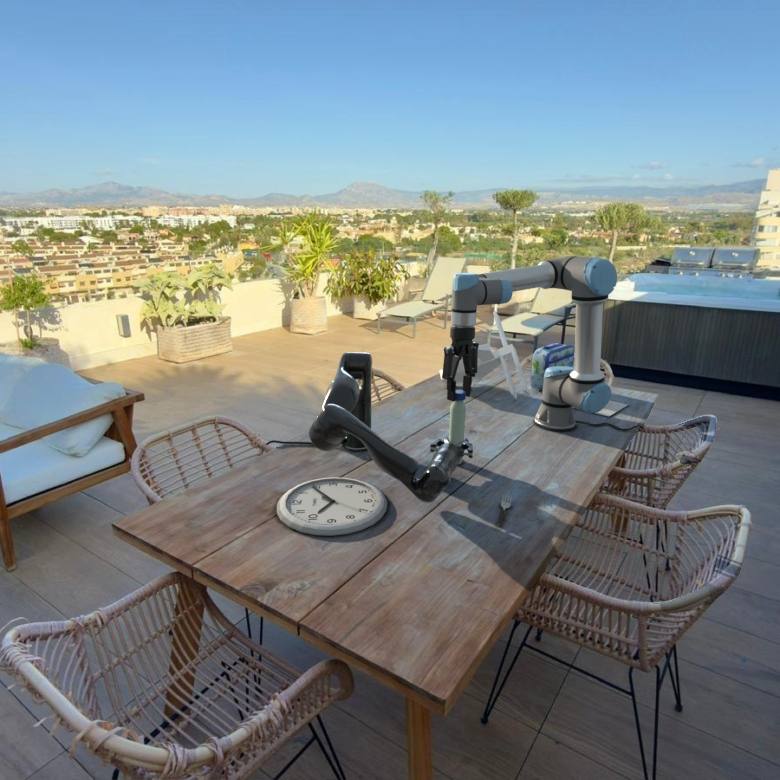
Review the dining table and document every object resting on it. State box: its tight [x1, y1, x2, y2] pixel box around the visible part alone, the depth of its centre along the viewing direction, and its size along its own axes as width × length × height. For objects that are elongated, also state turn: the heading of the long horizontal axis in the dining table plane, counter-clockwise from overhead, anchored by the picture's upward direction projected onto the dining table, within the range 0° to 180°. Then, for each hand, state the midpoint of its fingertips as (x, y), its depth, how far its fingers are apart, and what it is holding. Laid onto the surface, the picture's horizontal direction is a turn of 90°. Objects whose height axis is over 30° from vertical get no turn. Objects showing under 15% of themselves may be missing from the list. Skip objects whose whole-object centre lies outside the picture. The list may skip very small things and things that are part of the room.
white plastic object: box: [438, 310, 531, 400], centre depth 245 cm, size 37×45×31 cm
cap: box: [455, 389, 466, 402], centre depth 164 cm, size 4×4×2 cm
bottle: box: [448, 400, 467, 465], centre depth 168 cm, size 5×5×23 cm
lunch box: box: [530, 342, 575, 391], centre depth 250 cm, size 26×11×21 cm, turn 134°
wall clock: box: [276, 476, 388, 537], centre depth 142 cm, size 30×2×30 cm
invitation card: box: [573, 400, 629, 418], centre depth 226 cm, size 21×1×15 cm
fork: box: [497, 493, 513, 528], centre depth 139 cm, size 3×16×2 cm, turn 160°
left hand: (457, 439), depth 171 cm, fingers closed on bottle, 5 cm apart
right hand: (458, 397), depth 165 cm, fingers open, 6 cm apart
